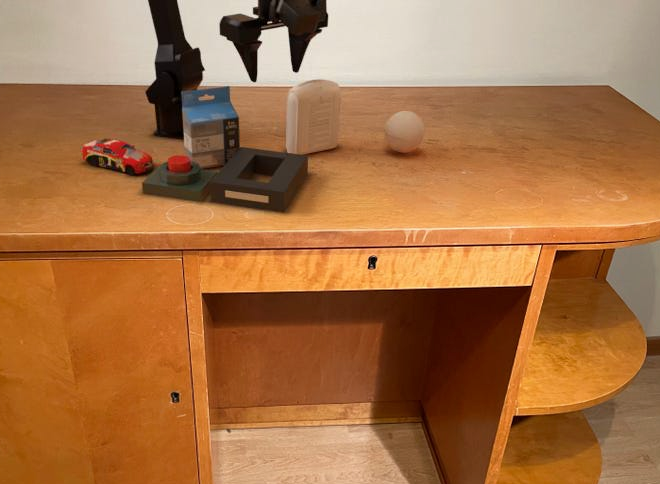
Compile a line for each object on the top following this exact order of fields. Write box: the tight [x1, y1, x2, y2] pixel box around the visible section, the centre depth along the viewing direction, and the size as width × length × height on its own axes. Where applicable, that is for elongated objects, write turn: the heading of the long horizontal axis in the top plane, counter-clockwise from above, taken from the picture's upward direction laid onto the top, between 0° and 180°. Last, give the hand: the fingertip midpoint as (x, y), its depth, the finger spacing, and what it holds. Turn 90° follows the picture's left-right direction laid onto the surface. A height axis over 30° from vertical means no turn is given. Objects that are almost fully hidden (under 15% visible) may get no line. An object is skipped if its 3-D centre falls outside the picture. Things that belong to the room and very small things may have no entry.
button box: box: [141, 161, 219, 203], centre depth 115 cm, size 10×8×4 cm
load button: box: [167, 154, 191, 173], centre depth 113 cm, size 4×4×2 cm
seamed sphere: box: [375, 110, 425, 154], centre depth 129 cm, size 10×7×7 cm
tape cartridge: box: [181, 85, 241, 170], centre depth 120 cm, size 9×4×12 cm, turn 117°
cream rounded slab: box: [285, 78, 342, 155], centre depth 127 cm, size 10×4×12 cm, turn 123°
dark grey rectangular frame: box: [210, 146, 309, 213], centre depth 115 cm, size 12×15×4 cm
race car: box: [81, 138, 154, 177], centre depth 121 cm, size 13×5×4 cm, turn 63°
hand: (275, 76), depth 119 cm, fingers open, 9 cm apart
